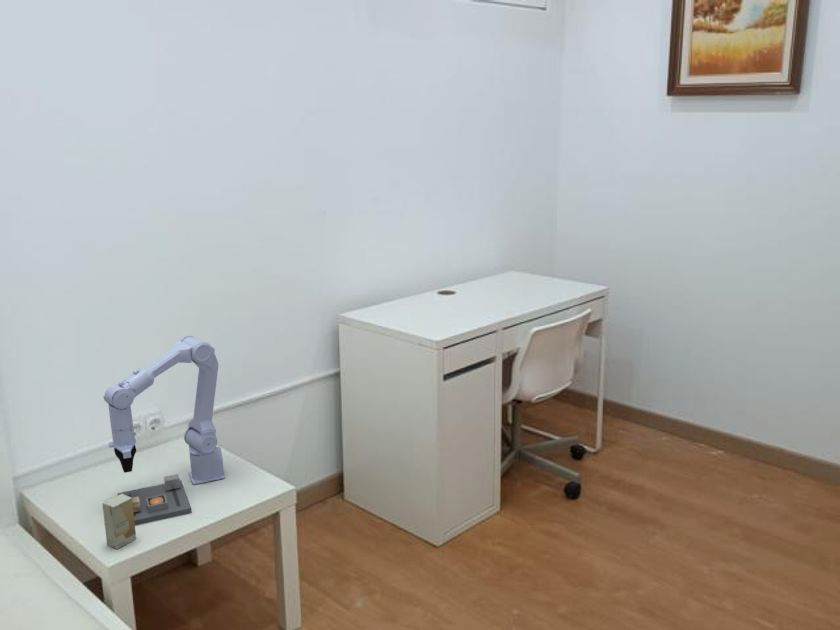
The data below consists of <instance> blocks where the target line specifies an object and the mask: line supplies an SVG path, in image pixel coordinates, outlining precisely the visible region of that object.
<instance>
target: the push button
mask: <svg viewBox="0 0 840 630" xmlns="http://www.w3.org/2000/svg"><path fill="white" fill-rule="evenodd" d="M159 503H164V500H163V498H161V497H156V498H153V499H151V500H150V505H155V504H159Z"/></svg>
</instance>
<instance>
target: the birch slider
mask: <svg viewBox="0 0 840 630" xmlns="http://www.w3.org/2000/svg"><path fill="white" fill-rule="evenodd" d="M132 504H133V513H134V512H138V511H141V508H140V500H139V496H138V497H133V498H132Z"/></svg>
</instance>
